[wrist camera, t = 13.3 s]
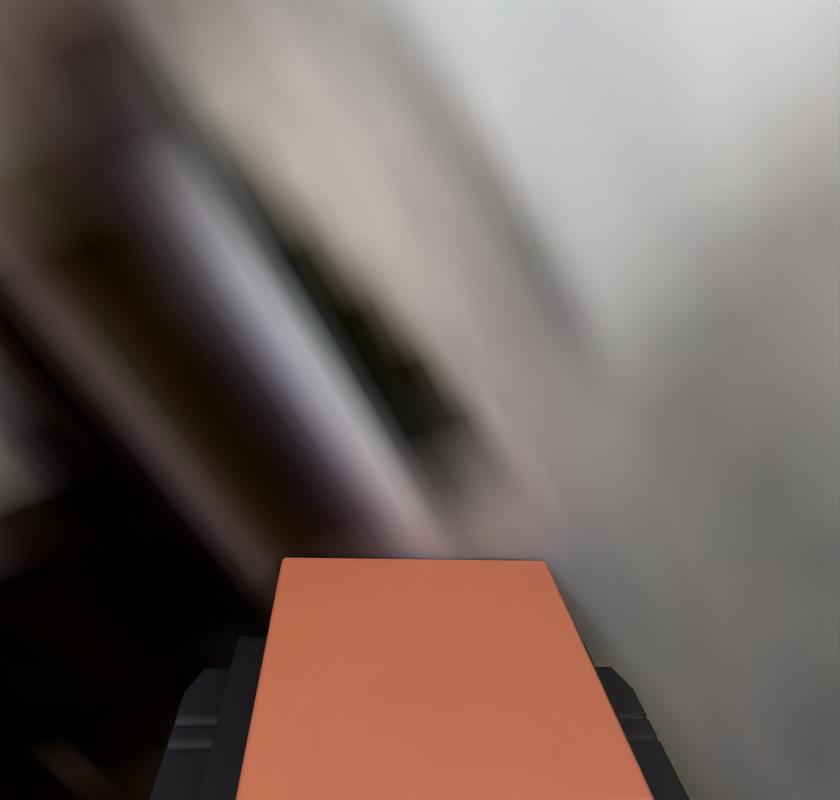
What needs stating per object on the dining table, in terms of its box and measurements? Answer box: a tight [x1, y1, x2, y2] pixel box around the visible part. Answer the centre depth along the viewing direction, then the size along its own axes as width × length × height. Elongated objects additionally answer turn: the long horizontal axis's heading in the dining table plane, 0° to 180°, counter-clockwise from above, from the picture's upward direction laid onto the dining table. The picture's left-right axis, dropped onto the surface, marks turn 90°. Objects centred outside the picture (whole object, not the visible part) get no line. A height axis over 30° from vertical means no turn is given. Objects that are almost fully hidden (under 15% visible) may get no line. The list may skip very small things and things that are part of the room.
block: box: [236, 558, 654, 800], centre depth 10 cm, size 5×5×5 cm
